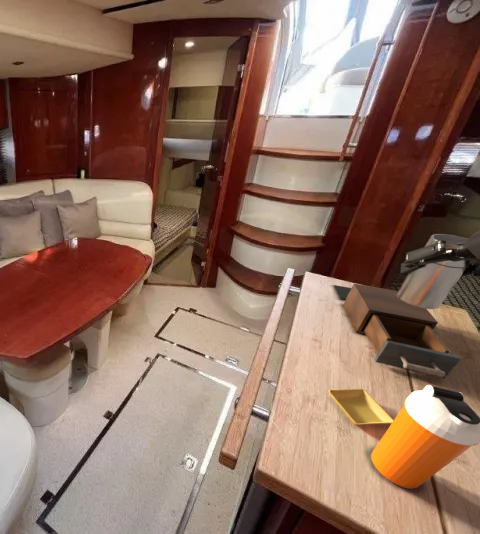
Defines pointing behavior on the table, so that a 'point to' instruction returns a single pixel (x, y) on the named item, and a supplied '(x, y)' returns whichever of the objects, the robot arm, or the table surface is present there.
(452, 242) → the metal cup
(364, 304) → the cabinet
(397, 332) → the drawer
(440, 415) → the shaker bottle
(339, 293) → the coaster
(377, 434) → the table surface
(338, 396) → the yellow square tray
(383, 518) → the table surface
